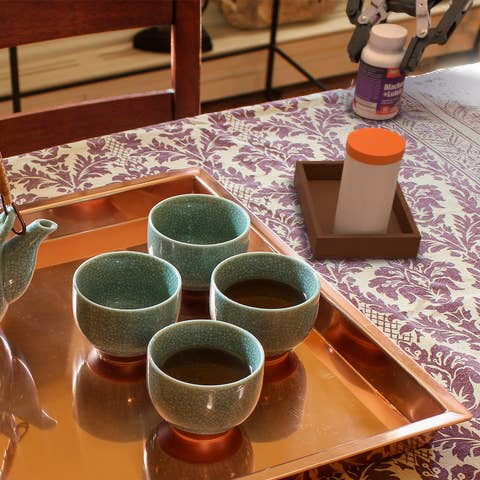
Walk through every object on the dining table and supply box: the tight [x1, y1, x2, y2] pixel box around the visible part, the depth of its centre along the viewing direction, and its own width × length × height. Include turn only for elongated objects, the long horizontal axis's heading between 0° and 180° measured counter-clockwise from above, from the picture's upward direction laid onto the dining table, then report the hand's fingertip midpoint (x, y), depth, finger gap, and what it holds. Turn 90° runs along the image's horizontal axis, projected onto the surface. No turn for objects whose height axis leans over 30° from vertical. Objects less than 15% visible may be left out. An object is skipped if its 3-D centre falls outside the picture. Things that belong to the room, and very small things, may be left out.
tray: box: [293, 160, 422, 261], centre depth 93 cm, size 14×10×2 cm
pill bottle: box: [352, 23, 409, 121], centre depth 108 cm, size 5×5×10 cm
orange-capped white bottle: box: [333, 127, 407, 234], centre depth 88 cm, size 5×5×10 cm
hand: (378, 66), depth 106 cm, fingers closed on pill bottle, 5 cm apart
